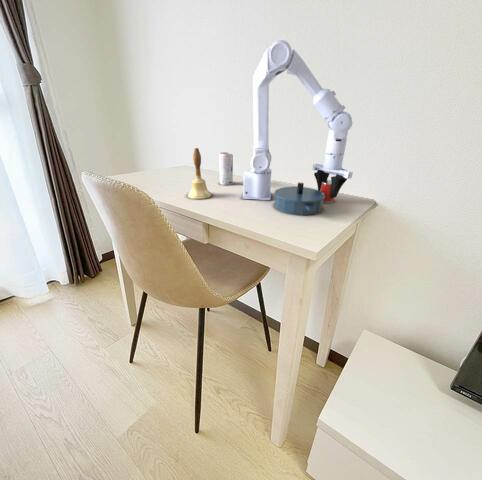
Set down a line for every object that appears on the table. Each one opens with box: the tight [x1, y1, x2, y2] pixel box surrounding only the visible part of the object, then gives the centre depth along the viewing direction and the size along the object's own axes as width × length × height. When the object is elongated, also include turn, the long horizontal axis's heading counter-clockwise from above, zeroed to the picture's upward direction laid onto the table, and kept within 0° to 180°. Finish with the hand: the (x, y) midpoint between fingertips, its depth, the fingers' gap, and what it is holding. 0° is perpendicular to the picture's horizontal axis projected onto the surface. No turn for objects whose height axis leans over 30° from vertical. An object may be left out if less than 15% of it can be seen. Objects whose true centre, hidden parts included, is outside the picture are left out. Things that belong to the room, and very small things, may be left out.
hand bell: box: [187, 147, 212, 200], centre depth 88 cm, size 8×8×16 cm
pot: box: [274, 195, 324, 216], centre depth 81 cm, size 14×20×4 cm
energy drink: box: [218, 151, 234, 186], centre depth 104 cm, size 5×5×12 cm
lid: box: [274, 182, 325, 203], centre depth 80 cm, size 15×15×4 cm
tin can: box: [320, 179, 335, 204], centre depth 87 cm, size 5×5×6 cm
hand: (327, 195), depth 88 cm, fingers closed on tin can, 5 cm apart
